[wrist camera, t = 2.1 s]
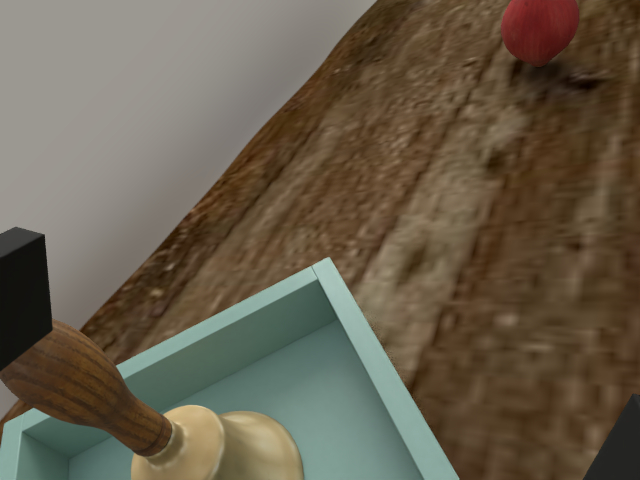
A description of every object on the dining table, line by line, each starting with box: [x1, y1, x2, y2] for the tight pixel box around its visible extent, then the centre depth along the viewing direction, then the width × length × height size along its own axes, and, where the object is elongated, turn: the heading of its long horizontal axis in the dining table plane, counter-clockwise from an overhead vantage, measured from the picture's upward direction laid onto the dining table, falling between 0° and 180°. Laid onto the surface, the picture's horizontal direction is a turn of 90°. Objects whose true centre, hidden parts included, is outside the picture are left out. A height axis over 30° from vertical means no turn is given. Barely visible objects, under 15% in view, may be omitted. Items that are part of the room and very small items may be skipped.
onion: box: [501, 0, 579, 67], centre depth 40 cm, size 6×6×8 cm
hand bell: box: [0, 319, 304, 480], centre depth 19 cm, size 8×8×16 cm
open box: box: [0, 257, 460, 480], centre depth 24 cm, size 20×15×4 cm
